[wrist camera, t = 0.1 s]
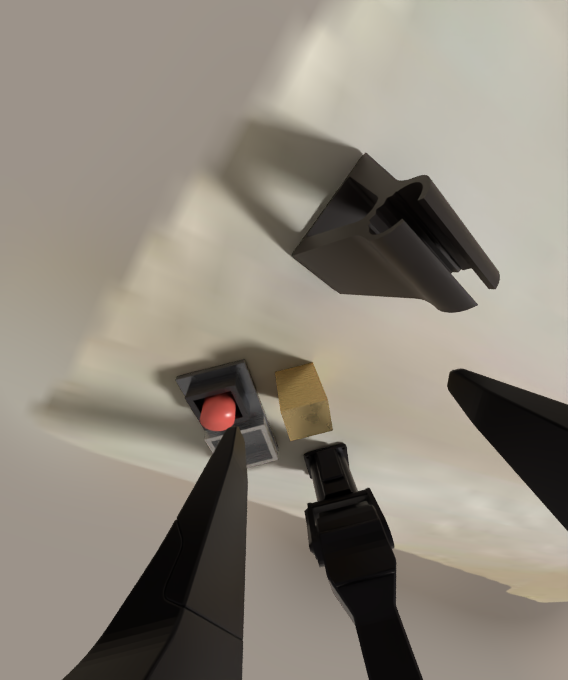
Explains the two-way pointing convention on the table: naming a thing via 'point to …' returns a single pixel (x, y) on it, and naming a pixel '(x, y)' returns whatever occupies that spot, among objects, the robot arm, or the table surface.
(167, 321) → the table surface
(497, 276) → the phone stand
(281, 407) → the billet
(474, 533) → the table surface
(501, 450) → the robot arm
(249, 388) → the ball holder tray
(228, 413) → the red rounded part
